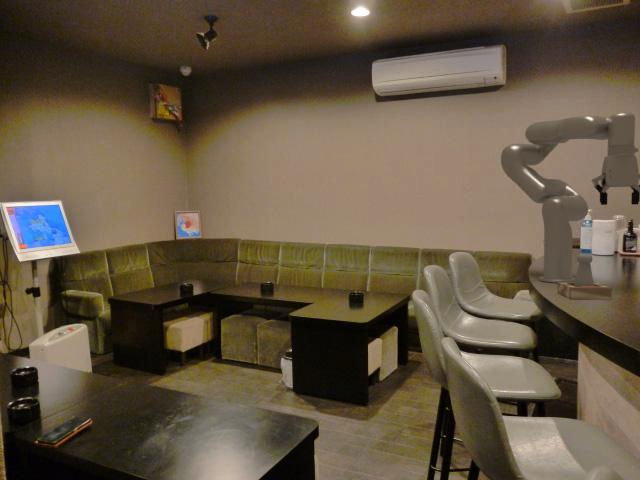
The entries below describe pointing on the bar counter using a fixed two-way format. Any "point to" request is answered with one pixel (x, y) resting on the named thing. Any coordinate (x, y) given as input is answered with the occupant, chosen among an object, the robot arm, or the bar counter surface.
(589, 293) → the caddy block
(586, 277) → the salt shaker
